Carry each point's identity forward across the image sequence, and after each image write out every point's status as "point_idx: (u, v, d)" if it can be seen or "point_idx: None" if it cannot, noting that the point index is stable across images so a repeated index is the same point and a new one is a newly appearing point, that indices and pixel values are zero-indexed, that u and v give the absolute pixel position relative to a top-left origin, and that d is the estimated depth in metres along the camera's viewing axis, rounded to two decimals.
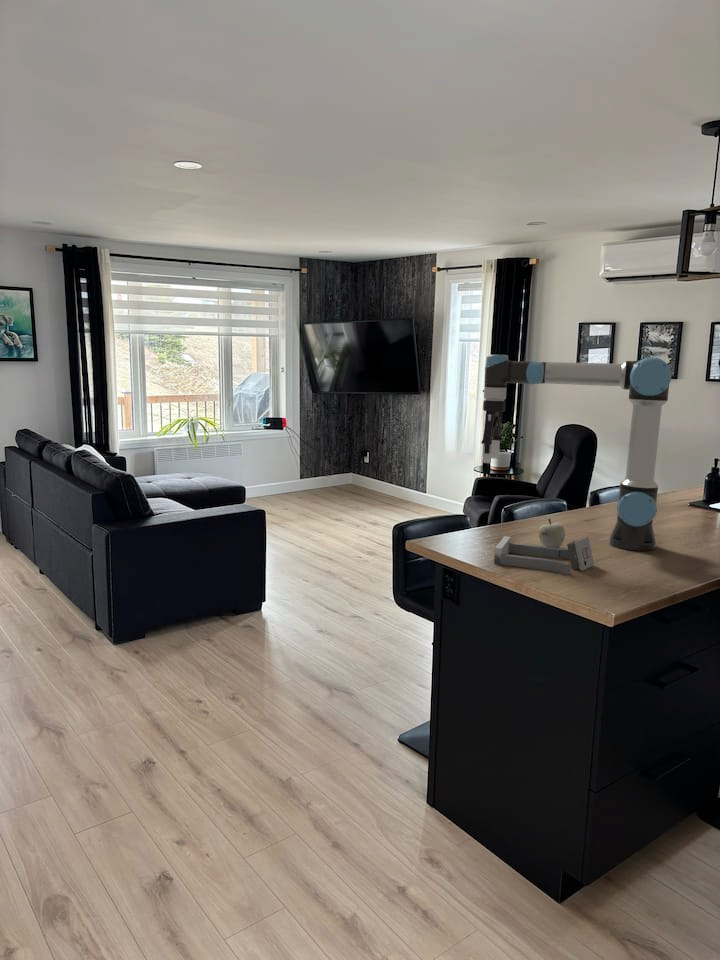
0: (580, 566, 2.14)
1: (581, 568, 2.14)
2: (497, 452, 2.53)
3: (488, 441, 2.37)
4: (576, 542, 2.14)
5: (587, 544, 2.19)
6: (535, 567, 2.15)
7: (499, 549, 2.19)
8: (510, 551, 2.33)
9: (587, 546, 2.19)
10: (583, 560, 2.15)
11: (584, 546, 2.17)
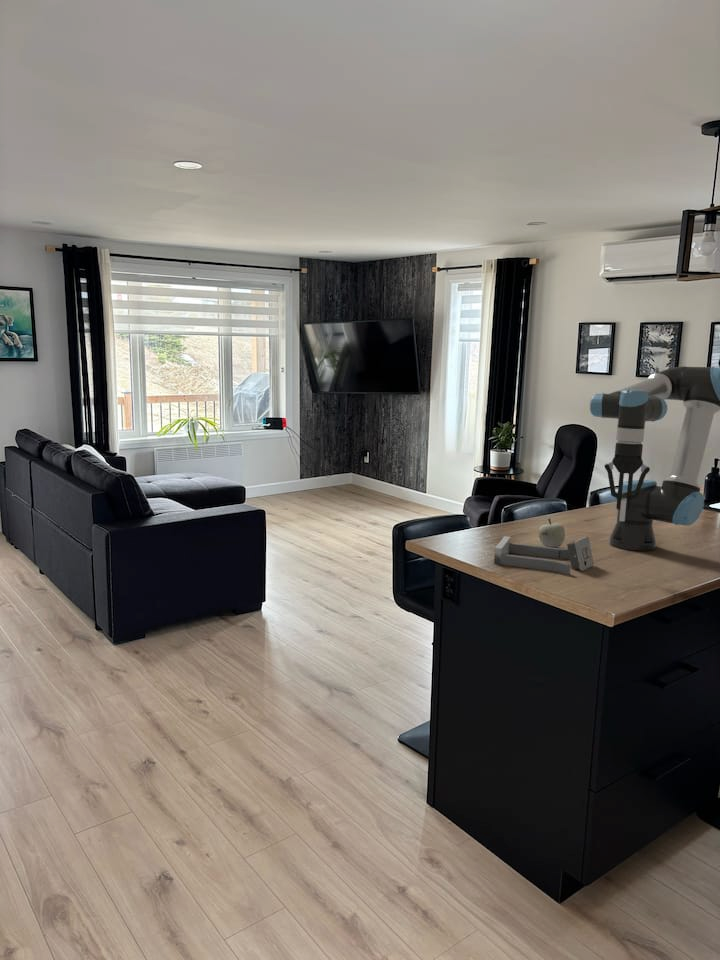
0: (580, 566, 2.14)
1: (581, 568, 2.14)
2: None
3: None
4: (576, 542, 2.14)
5: (587, 544, 2.19)
6: (535, 567, 2.15)
7: (499, 549, 2.19)
8: (510, 551, 2.33)
9: (587, 546, 2.19)
10: (583, 560, 2.15)
11: (584, 546, 2.17)
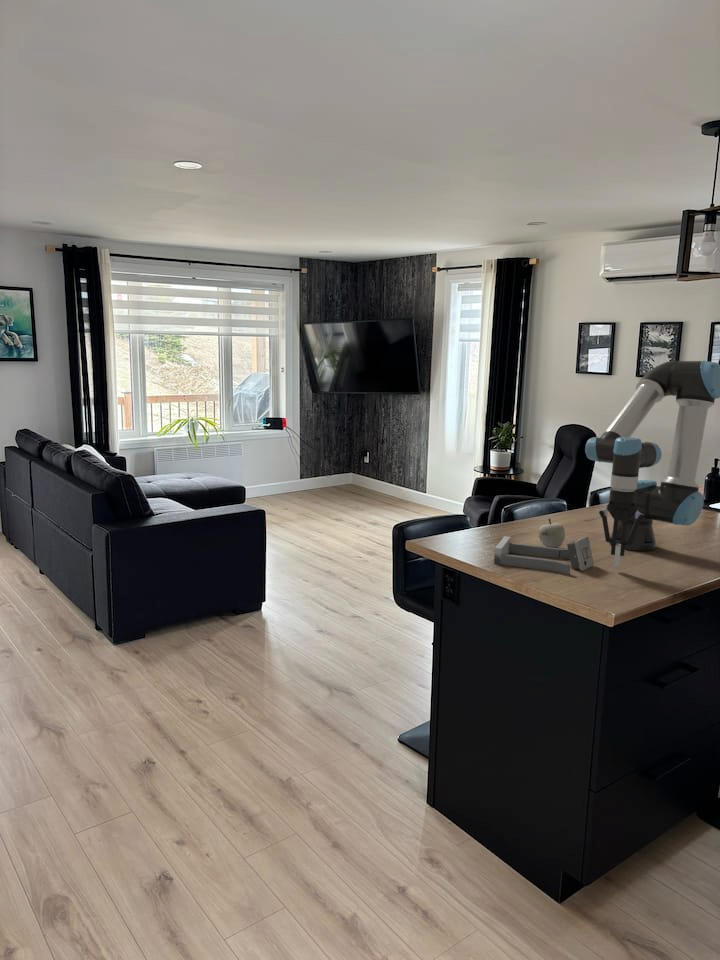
0: (580, 566, 2.14)
1: (581, 568, 2.14)
2: None
3: (606, 540, 2.14)
4: (576, 542, 2.14)
5: (587, 544, 2.19)
6: (535, 567, 2.15)
7: (499, 549, 2.19)
8: (510, 551, 2.33)
9: (587, 546, 2.19)
10: (583, 560, 2.15)
11: (584, 546, 2.17)
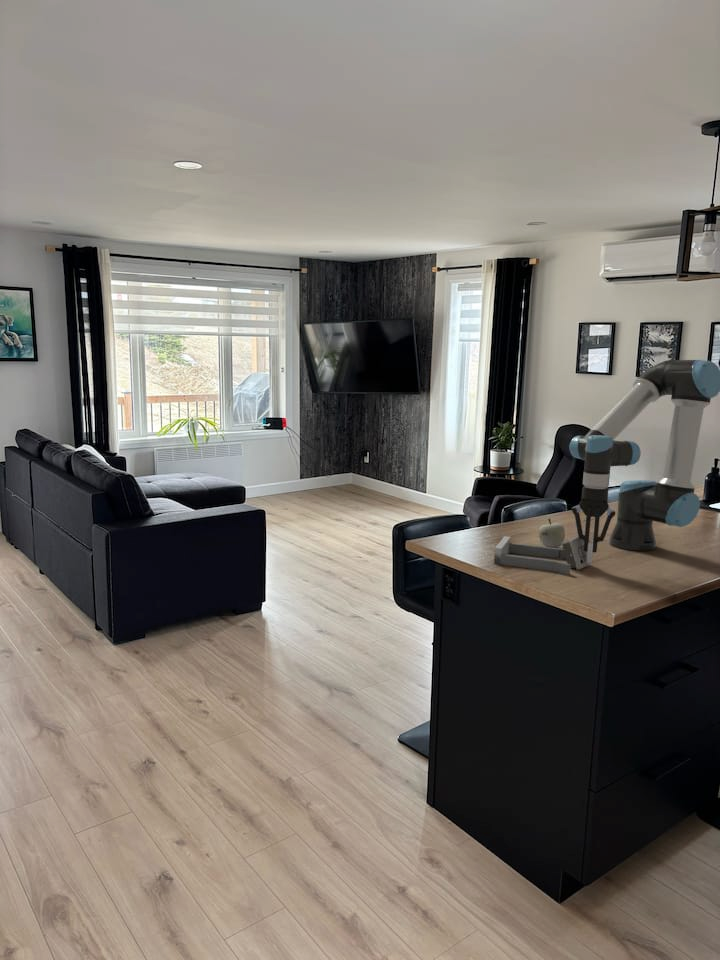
0: (576, 564, 2.15)
1: (577, 566, 2.14)
2: None
3: (578, 536, 2.17)
4: (571, 541, 2.15)
5: (582, 543, 2.20)
6: (535, 567, 2.15)
7: (499, 549, 2.19)
8: (510, 551, 2.33)
9: (583, 545, 2.20)
10: (579, 558, 2.16)
11: (580, 545, 2.18)
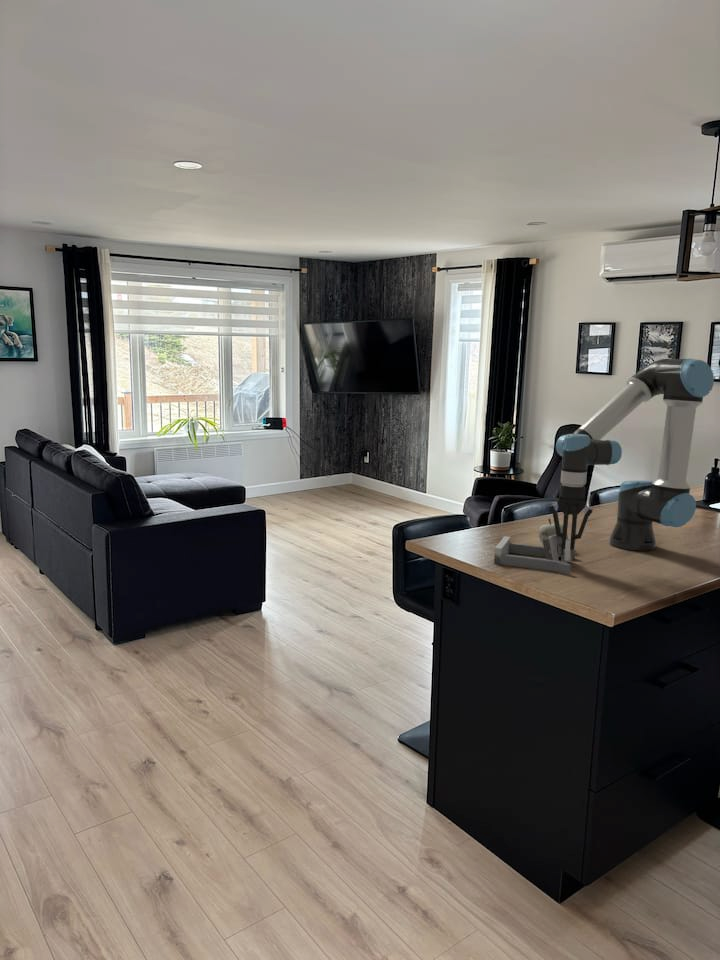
0: None
1: None
2: None
3: (556, 534, 2.19)
4: (550, 537, 2.19)
5: None
6: (535, 567, 2.15)
7: (499, 549, 2.19)
8: (510, 551, 2.33)
9: None
10: (557, 555, 2.19)
11: (560, 542, 2.21)
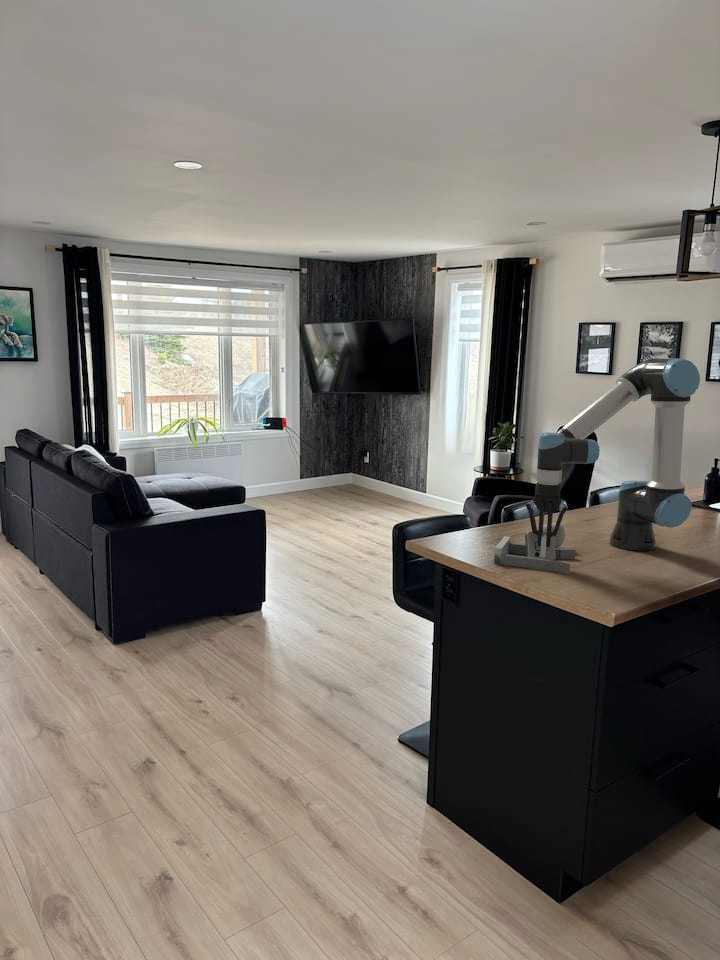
0: (528, 556, 2.24)
1: None
2: None
3: None
4: (527, 532, 2.24)
5: None
6: (535, 567, 2.15)
7: (499, 549, 2.19)
8: (510, 551, 2.33)
9: None
10: (534, 551, 2.24)
11: None
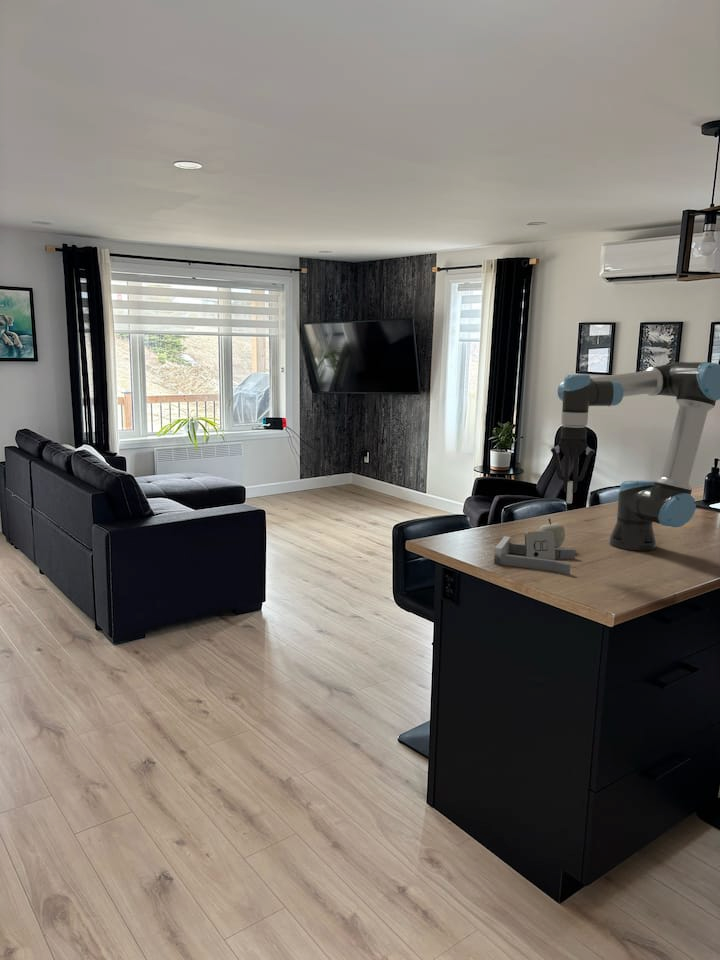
0: (527, 556, 2.24)
1: None
2: None
3: (558, 477, 2.17)
4: (527, 532, 2.25)
5: (547, 538, 2.26)
6: (535, 567, 2.15)
7: (499, 549, 2.19)
8: (510, 551, 2.33)
9: (547, 540, 2.25)
10: (533, 551, 2.24)
11: (541, 539, 2.25)
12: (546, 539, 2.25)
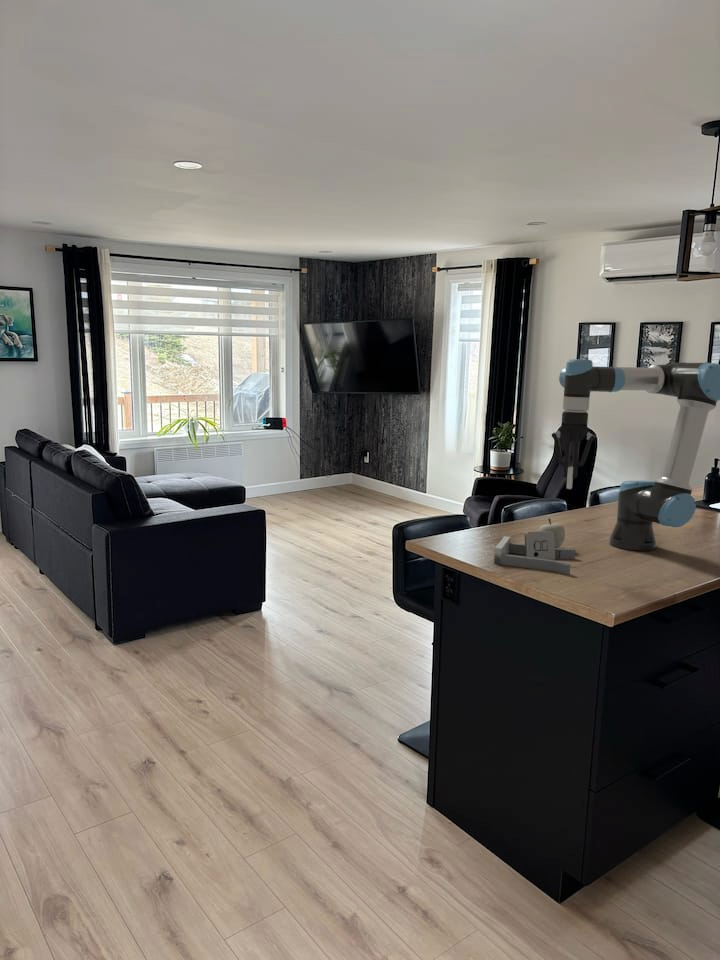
0: (527, 556, 2.24)
1: None
2: None
3: (558, 462, 2.16)
4: (527, 532, 2.25)
5: (547, 538, 2.26)
6: (535, 567, 2.15)
7: (499, 549, 2.19)
8: (510, 551, 2.33)
9: (547, 540, 2.25)
10: (533, 551, 2.24)
11: (541, 539, 2.25)
12: (546, 539, 2.25)
